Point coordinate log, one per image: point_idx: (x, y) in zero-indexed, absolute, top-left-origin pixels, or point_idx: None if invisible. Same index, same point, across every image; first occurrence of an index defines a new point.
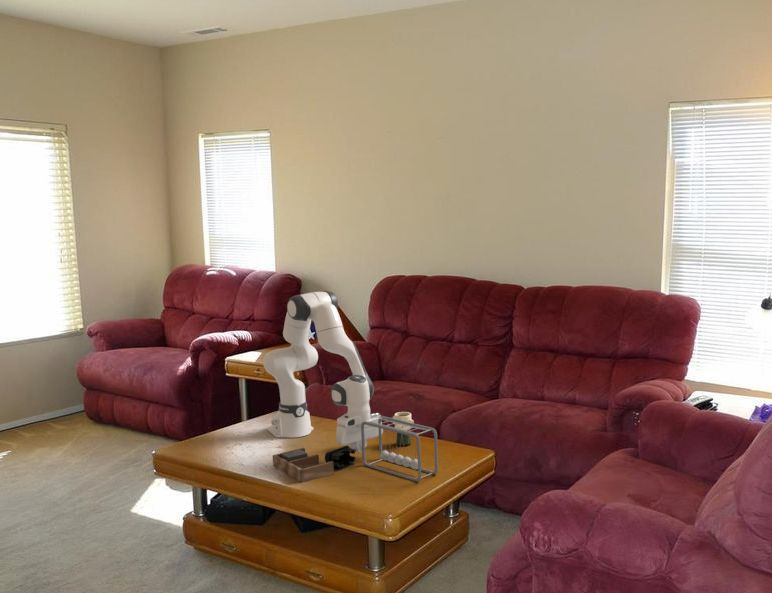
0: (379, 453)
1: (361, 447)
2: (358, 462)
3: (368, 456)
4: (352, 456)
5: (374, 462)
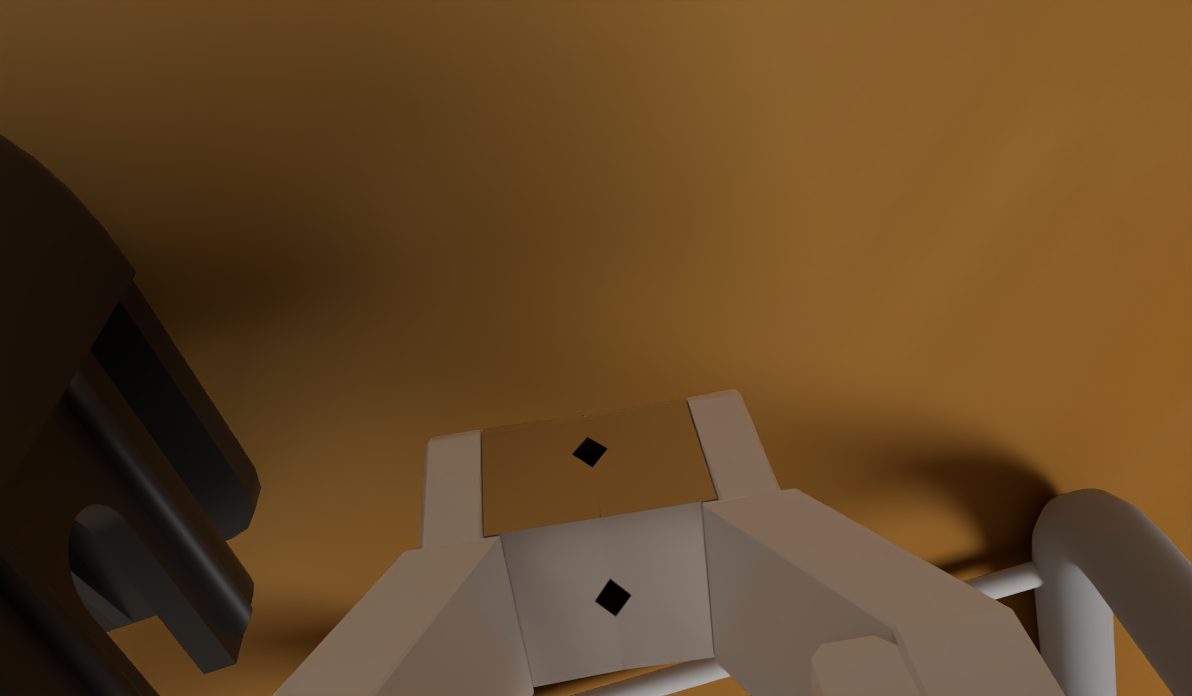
0: (1093, 560)
1: (614, 663)
2: (413, 422)
3: (929, 115)
4: (167, 598)
5: (725, 675)
